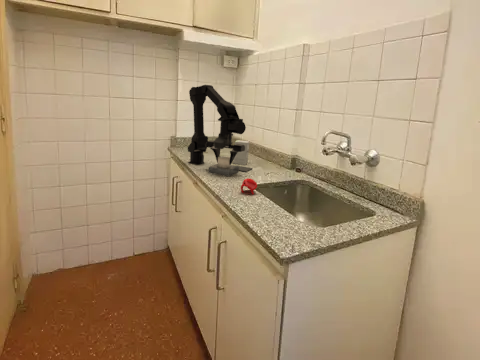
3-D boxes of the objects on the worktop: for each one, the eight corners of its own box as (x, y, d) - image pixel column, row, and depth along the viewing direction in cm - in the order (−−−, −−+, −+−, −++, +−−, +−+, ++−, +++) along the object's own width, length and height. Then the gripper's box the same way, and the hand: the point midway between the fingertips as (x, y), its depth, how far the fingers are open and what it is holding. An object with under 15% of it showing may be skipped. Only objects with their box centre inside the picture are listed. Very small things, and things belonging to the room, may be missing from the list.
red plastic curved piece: (254, 189, 118) (261, 178, 122) (241, 182, 119) (247, 171, 123) (250, 200, 125) (256, 190, 128) (237, 193, 126) (244, 183, 129)
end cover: (214, 172, 152) (215, 157, 150) (220, 169, 158) (221, 155, 156) (226, 174, 150) (227, 159, 148) (232, 171, 155) (233, 157, 153)
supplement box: (245, 165, 174) (247, 142, 171) (232, 163, 175) (234, 141, 172) (248, 162, 181) (250, 141, 178) (235, 161, 182) (237, 139, 179)
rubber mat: (229, 169, 160) (230, 168, 160) (236, 166, 168) (237, 165, 168) (246, 172, 157) (246, 171, 157) (252, 169, 165) (252, 168, 165)
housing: (208, 172, 151) (208, 166, 150) (218, 168, 161) (219, 163, 160) (229, 176, 147) (229, 170, 146) (238, 172, 157) (238, 166, 156)
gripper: (200, 130, 145) (199, 163, 149) (237, 135, 138) (234, 169, 142) (211, 128, 155) (210, 159, 159) (246, 133, 148) (244, 165, 152)
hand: (224, 163), depth 152 cm, fingers closed on end cover, 6 cm apart
